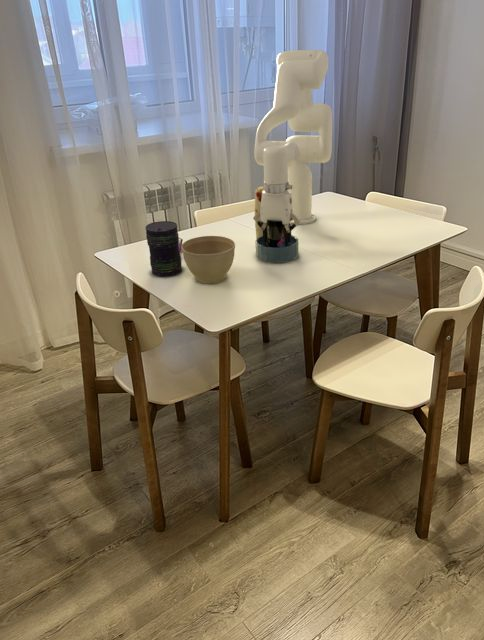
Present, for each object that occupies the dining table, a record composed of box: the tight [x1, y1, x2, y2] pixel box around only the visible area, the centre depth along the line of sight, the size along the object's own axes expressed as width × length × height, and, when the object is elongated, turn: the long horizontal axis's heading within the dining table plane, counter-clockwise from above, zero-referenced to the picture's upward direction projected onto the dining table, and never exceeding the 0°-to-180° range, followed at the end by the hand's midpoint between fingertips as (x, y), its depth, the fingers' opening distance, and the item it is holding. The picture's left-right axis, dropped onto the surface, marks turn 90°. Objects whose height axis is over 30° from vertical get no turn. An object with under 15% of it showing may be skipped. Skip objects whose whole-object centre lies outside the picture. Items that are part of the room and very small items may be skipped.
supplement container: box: [266, 220, 287, 248], centre depth 177 cm, size 7×7×10 cm
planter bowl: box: [181, 235, 236, 284], centre depth 164 cm, size 16×16×11 cm
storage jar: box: [145, 220, 183, 278], centre depth 169 cm, size 10×10×15 cm
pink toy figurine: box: [178, 236, 183, 254], centre depth 185 cm, size 7×5×9 cm
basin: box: [255, 234, 299, 264], centre depth 180 cm, size 14×14×6 cm
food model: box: [254, 185, 264, 240], centre depth 189 cm, size 10×7×20 cm
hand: (277, 241), depth 178 cm, fingers closed on supplement container, 6 cm apart
